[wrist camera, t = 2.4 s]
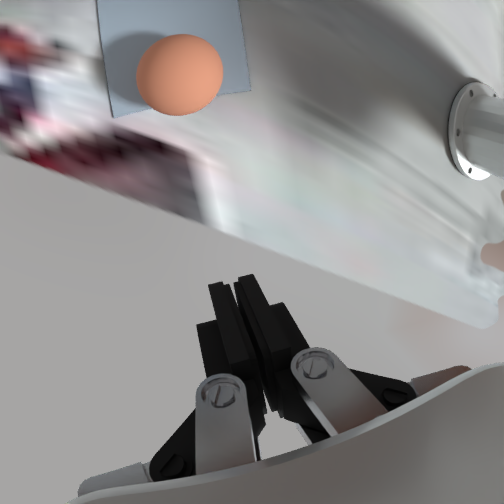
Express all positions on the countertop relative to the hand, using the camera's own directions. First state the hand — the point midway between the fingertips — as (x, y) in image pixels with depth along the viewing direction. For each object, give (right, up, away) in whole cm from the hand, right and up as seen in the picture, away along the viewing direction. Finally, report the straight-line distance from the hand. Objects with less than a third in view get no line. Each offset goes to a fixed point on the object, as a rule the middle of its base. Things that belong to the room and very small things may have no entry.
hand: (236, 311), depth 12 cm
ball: (-4, +14, +7) cm, 17 cm away
